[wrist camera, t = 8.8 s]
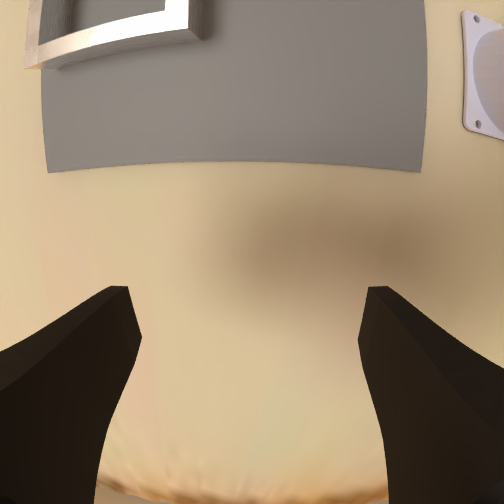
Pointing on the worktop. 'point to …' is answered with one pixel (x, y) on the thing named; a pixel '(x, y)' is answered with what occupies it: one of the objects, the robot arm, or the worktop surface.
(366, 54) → the board
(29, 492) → the robot arm
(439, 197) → the worktop surface
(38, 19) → the square storage bin
